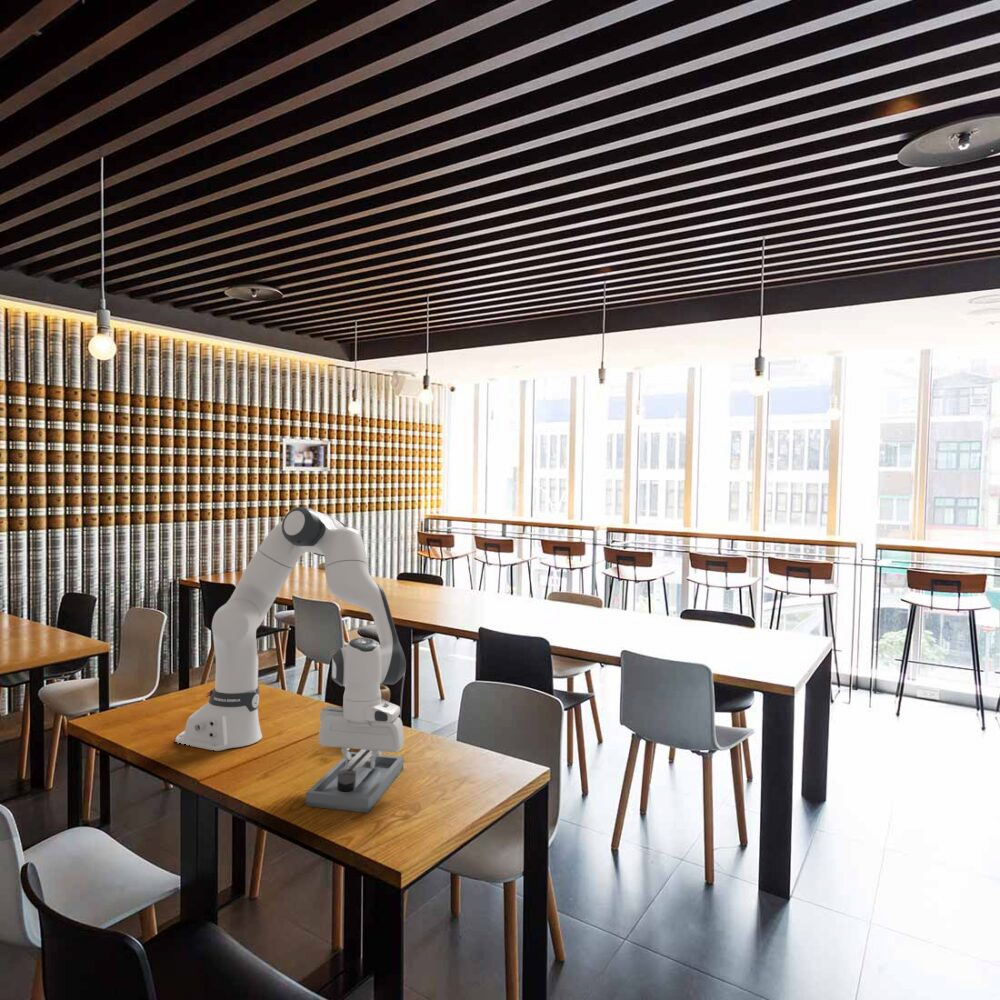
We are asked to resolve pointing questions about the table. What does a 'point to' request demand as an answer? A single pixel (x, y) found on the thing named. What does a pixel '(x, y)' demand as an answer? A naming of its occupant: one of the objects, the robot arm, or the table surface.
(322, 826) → the table surface
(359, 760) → the steel tongs
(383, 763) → the utensil tray
